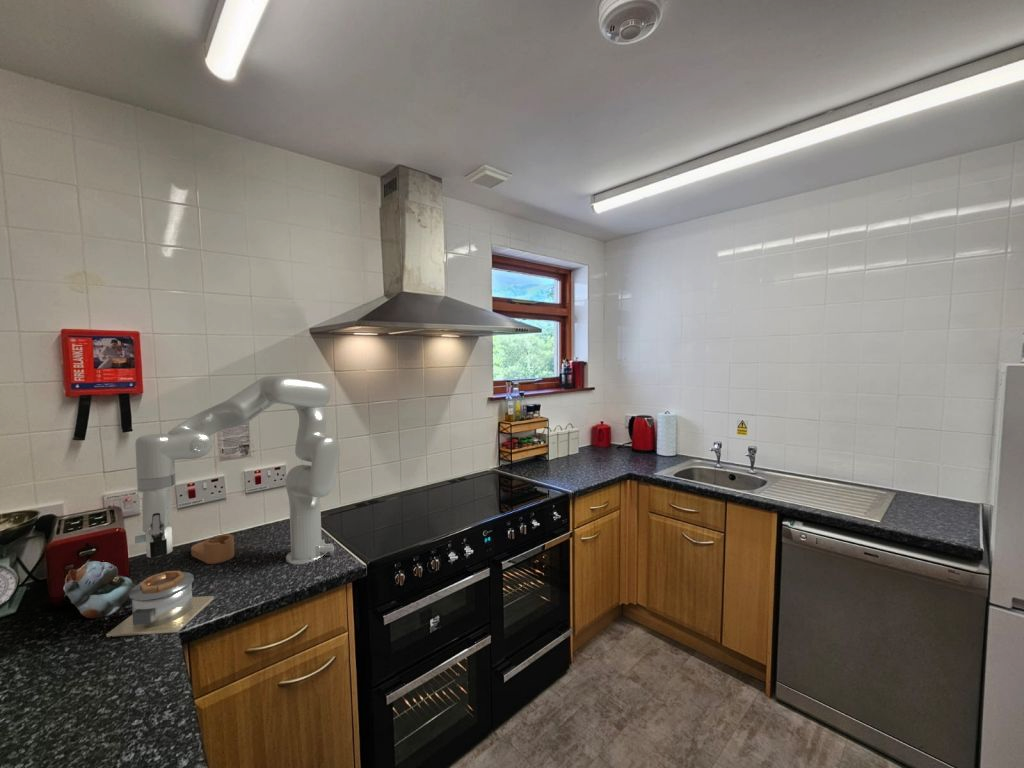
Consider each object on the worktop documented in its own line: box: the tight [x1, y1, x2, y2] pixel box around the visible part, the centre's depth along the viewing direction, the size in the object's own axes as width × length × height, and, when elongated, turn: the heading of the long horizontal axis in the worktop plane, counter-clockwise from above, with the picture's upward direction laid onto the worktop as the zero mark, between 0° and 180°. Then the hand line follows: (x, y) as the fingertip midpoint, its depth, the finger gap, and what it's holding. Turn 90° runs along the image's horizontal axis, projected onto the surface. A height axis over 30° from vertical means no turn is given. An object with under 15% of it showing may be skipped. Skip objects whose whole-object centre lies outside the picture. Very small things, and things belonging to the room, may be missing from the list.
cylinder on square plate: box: [105, 570, 215, 638], centre depth 111 cm, size 16×15×10 cm
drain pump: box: [134, 525, 174, 558], centre depth 109 cm, size 7×5×7 cm
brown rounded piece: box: [190, 533, 235, 565], centre depth 147 cm, size 18×8×7 cm, turn 58°
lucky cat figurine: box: [63, 558, 135, 619], centre depth 115 cm, size 15×12×14 cm
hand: (159, 551), depth 110 cm, fingers closed on drain pump, 5 cm apart
